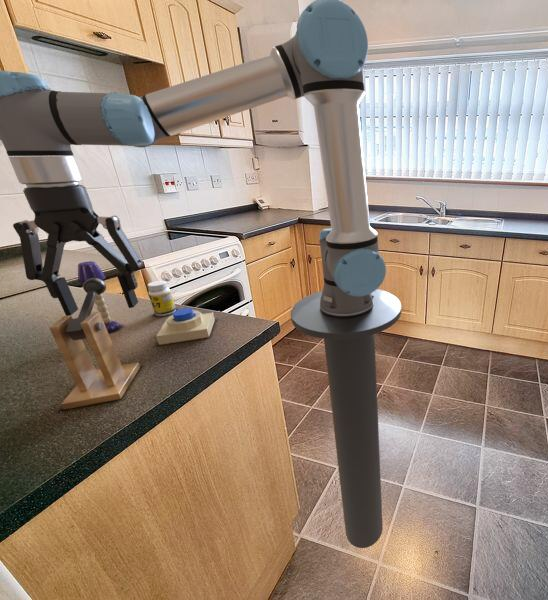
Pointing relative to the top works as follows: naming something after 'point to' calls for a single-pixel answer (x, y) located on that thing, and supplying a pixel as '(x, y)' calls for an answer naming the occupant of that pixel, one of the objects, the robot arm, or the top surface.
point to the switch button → (183, 314)
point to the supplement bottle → (161, 298)
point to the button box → (186, 328)
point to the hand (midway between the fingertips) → (103, 308)
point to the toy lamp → (93, 271)
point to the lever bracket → (89, 380)
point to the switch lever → (85, 307)
